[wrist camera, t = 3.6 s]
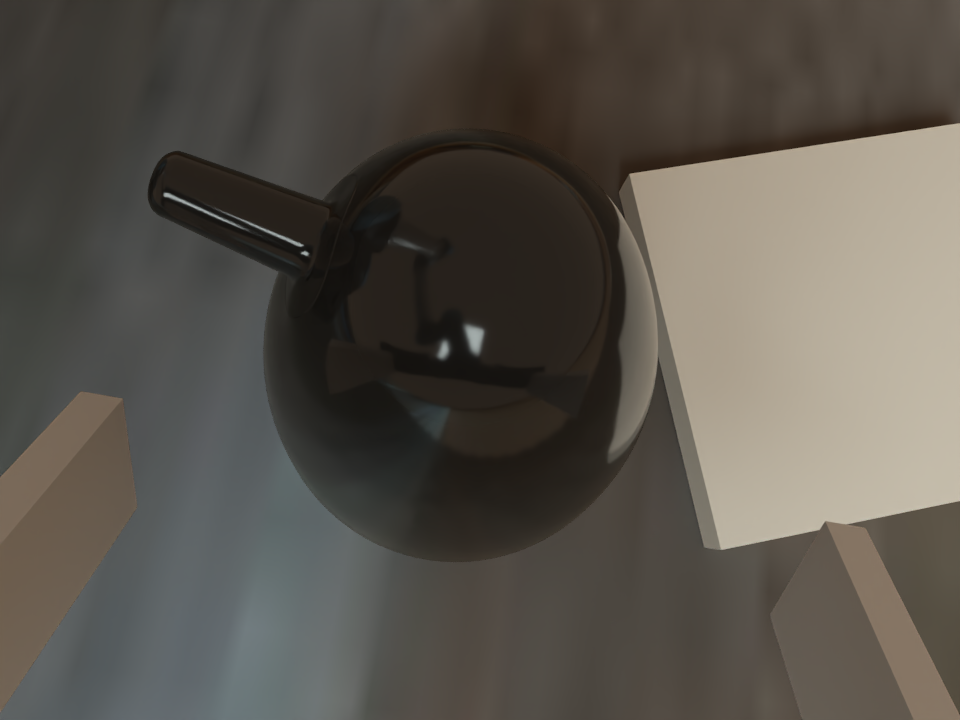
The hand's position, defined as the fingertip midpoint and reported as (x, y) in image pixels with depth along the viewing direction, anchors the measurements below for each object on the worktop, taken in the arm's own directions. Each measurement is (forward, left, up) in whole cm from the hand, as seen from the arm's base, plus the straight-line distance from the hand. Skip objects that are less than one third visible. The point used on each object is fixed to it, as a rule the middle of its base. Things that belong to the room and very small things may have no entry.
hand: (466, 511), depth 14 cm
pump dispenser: (-4, +1, -11) cm, 11 cm away
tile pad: (-4, +15, -11) cm, 18 cm away
